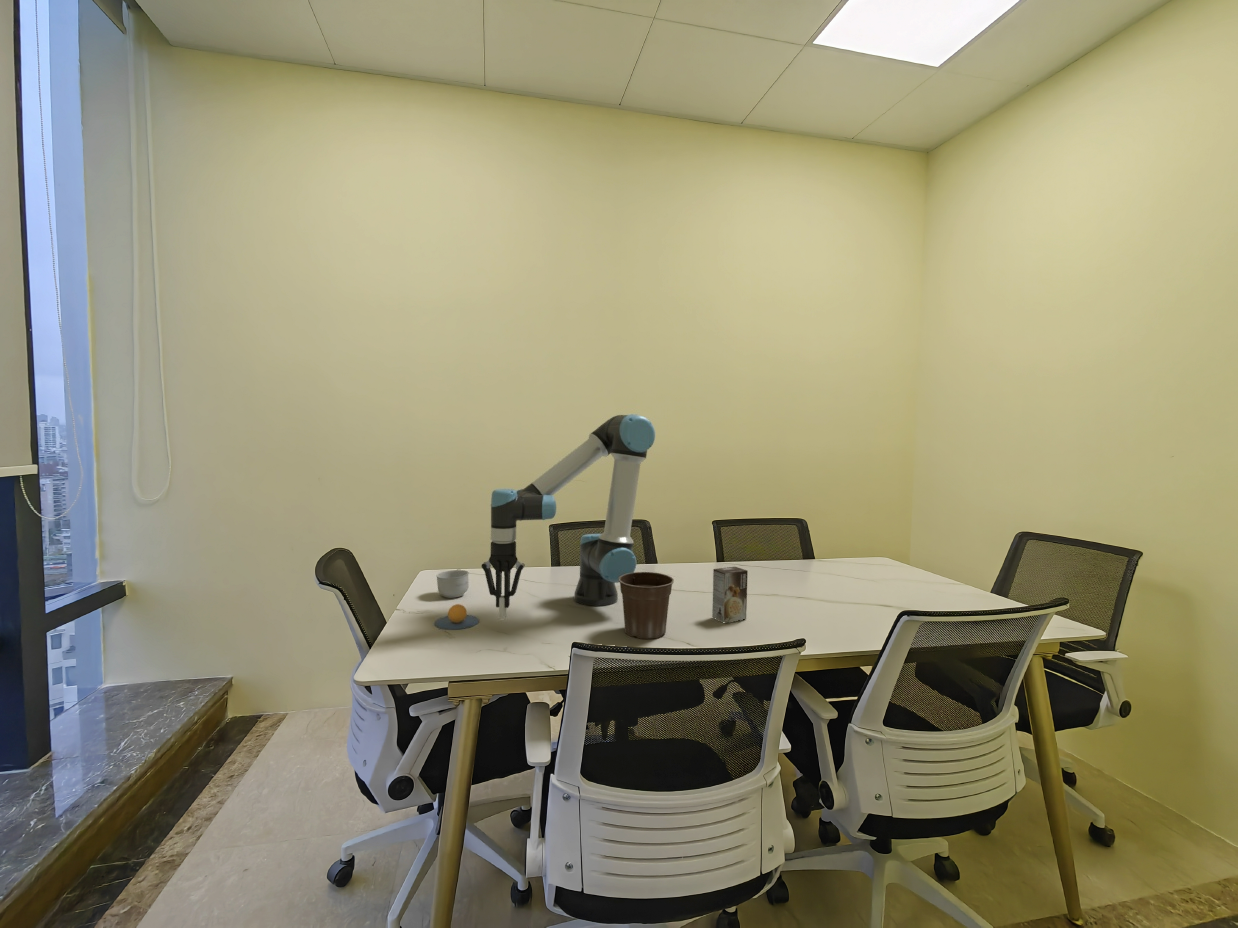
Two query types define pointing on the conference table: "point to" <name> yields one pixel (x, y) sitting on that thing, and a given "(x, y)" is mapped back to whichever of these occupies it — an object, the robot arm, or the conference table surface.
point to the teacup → (453, 583)
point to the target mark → (449, 625)
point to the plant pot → (645, 603)
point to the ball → (457, 613)
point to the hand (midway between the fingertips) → (502, 617)
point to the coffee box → (729, 594)
